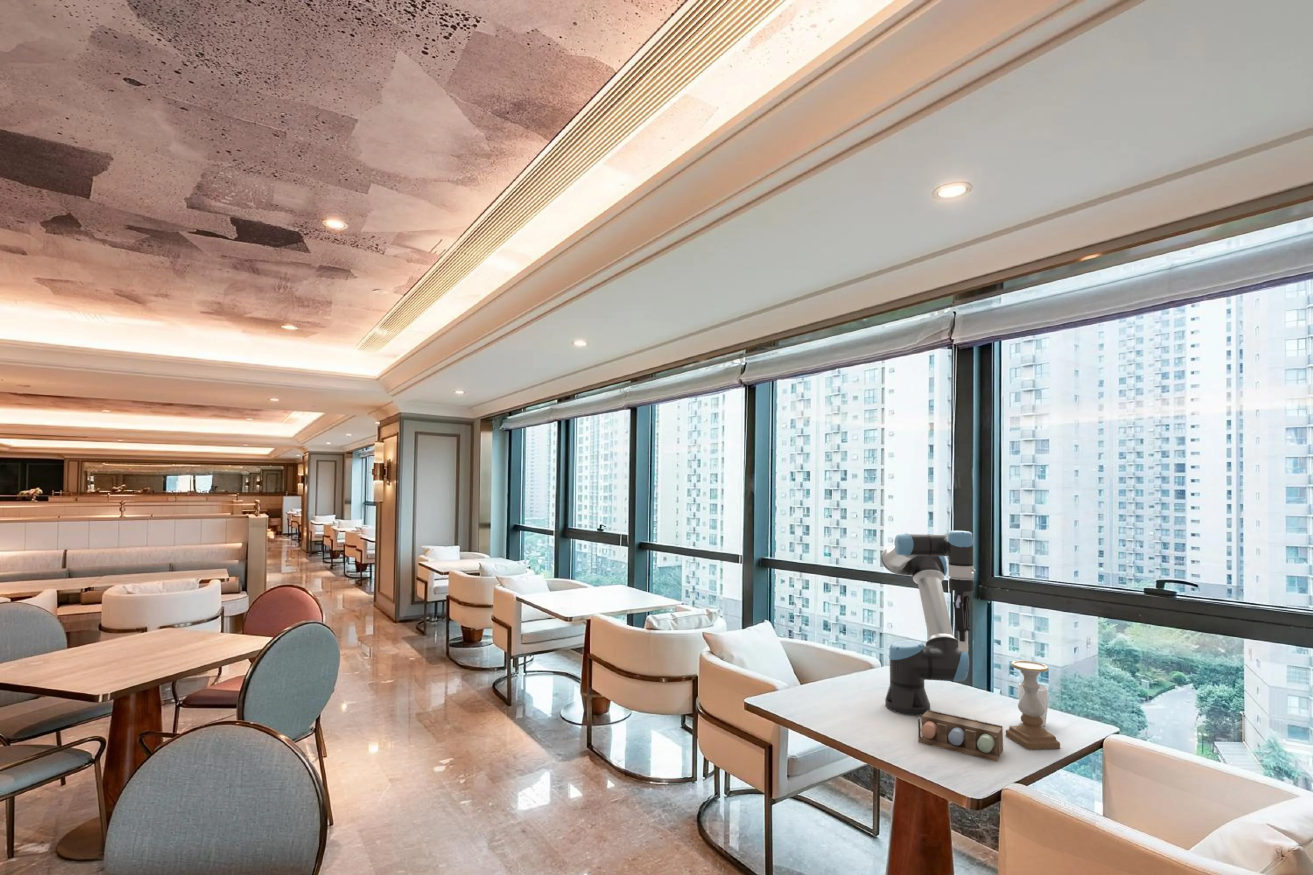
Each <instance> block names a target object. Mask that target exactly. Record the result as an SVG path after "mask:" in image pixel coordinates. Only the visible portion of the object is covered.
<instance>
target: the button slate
mask: <svg viewBox="0 0 1313 875" xmlns="http://www.w3.org/2000/svg"><path fill="white" fill-rule="evenodd" d="M948 739H949V741H950V742H951V743H952V744H953V745H960V744H961V743H962V742H963V741H964V739H965V733H964V731H963V730H962V729H960V728H953V729H952V731H951V732H950V733H949V735H948Z"/></svg>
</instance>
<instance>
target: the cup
mask: <svg viewBox="0 0 1313 875" xmlns="http://www.w3.org/2000/svg"><path fill="white" fill-rule="evenodd" d="M1021 683H1022V682H1020V683H1018V686H1017V687H1018V688H1017V695H1018V700H1019V701H1020V699H1021V698H1022V697H1023V695H1024V693H1025V691H1024V688H1023V686H1022V685H1021ZM1038 684H1039V683H1038ZM1039 686H1040V688H1039V689H1038V691H1037V696H1038V698H1039V699H1040V701H1041V702H1042V704H1043V706H1044V709H1045V712H1044V714H1043V715H1041V716H1040V717H1041V718H1042V720H1043V724H1042V725H1041V726H1042V727H1043V726H1046V723H1047V714H1048V710H1049V709H1048V708H1049V699H1050V696H1049V689H1048V688H1049V687H1047V686H1045V685H1043V684H1039ZM1019 701H1018V702H1019ZM1022 714H1023V713H1022V712H1021V715H1022Z"/></svg>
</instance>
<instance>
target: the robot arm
mask: <svg viewBox="0 0 1313 875" xmlns="http://www.w3.org/2000/svg"><path fill="white" fill-rule="evenodd" d="M974 543H975V542H974V539H973V532H971V531H969V530H968V531H967V530H949V531H948V533H944V534H934V533H933V534H930V533H929V534H928V533H927V534H924V533H921V534H919V533H917V534H916V533H898V534H896V535H895V537H894V545H891V546H888V547H886V548H884V550H883V551H882V553H881V554H880V555H881V557H880V559H881V560H880V561H881V564H882V566H883V567H884V568H885V569H886V570H887V571H889V572H890V573H892V574H895V575H898V576H904V577H907V576H909V577H912V581H913V582H914V583H915V584H917V585H918V592H919V595H920V601H921V605H922V611H923V617H924V621H925V625H926V631H927V636H928V640H926V641H925V645H924V643H923V642H922V641H920V640H913V639H912V640H911V639H905V640H898V641H894V642H893V643H891V644H890V646H889V653H888V654H889V655H888V660H889V687H888V690H887V693H886V696H885V698H884V699H885V700H884V701H885V702H884V703H885V704H884V705H885V707H886V708H887V709H888V710H890V711H892V712H894V713H898V714H901V715H907V716H922V715H923V714H924V713H925V712H926V710H931V703H930V700H929V697H928V695H927V692H926V689H925V681H942V682H943V681H944V682H952V683H953V682H964V681H965V680H966V679H967V678H968V675H969V669H970V657H969V631H971V629H972V628H971V627H970V611H971V610H970V607H971V596H970V595H969V593H972V592H974V591H975V580H974V577H975V575H974V574H975V572H977V571H976V569H975V568H974ZM946 557H948V563H947V560H946ZM947 564H948V566H947ZM947 574H948V576H949V578H948V588H949V590H951V591H955V595H954V596H953V597H954V598H953V602H952V604H953V609H954V621H955V628H954V631H957V638H955V637H954V633H953V632H954V631H953V629H952V622H951V620H950V616H949V611H948V610H949V609H948V605H947V603H946V598H945V597H946V596H945V594H944V588H943V585H942V582H943V581H944V579H945V576H946V575H947Z"/></svg>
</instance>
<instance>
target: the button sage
mask: <svg viewBox="0 0 1313 875" xmlns="http://www.w3.org/2000/svg"><path fill="white" fill-rule="evenodd" d="M994 744H995V741H994V739H993V738H992V737H991V736H990V735H988V734H983V735H981V737H980V738H979V739H978V741H977V746H978V748H979V749H980V750H981V751H982V752H985V753H988V752H990V751H991V750H992V748H993V746H994Z"/></svg>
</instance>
